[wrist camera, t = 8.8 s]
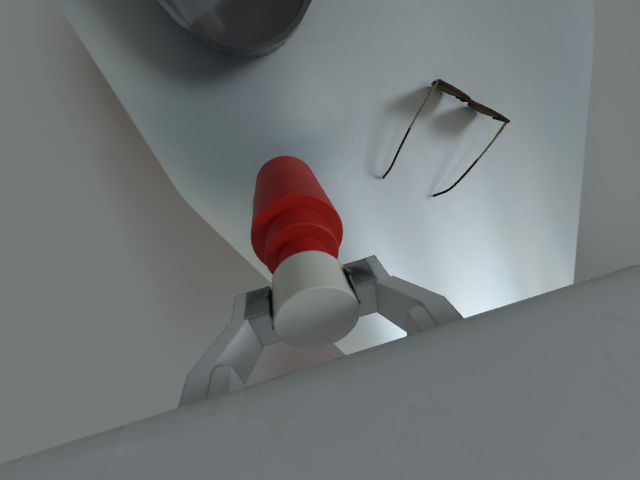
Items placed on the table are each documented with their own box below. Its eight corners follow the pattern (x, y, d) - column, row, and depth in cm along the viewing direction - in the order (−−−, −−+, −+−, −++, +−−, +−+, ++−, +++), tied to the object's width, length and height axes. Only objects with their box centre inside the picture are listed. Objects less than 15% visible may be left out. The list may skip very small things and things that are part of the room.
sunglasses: (488, 116, 40) (513, 121, 36) (434, 195, 47) (450, 207, 43) (421, 77, 35) (441, 78, 31) (372, 173, 42) (383, 184, 38)
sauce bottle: (267, 219, 24) (269, 380, 11) (247, 164, 21) (214, 289, 8) (320, 204, 25) (390, 342, 11) (307, 148, 22) (382, 241, 8)
